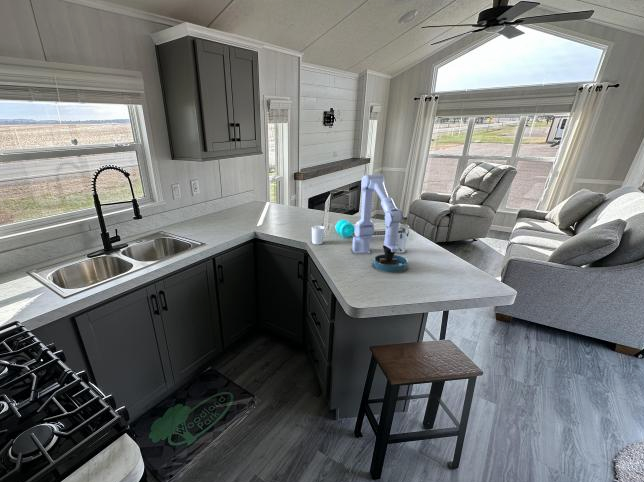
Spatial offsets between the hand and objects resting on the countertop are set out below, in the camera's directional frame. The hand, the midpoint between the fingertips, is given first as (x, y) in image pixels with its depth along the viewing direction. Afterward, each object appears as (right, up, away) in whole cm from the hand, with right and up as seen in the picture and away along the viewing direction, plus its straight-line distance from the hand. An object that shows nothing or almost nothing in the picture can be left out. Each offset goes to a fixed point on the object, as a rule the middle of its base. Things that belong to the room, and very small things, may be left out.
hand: (388, 260), depth 166 cm
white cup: (-30, +12, +39) cm, 51 cm away
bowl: (+2, -3, +3) cm, 5 cm away
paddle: (0, -1, +1) cm, 2 cm away
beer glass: (+14, +6, +22) cm, 27 cm away
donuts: (-11, +22, +48) cm, 54 cm away
